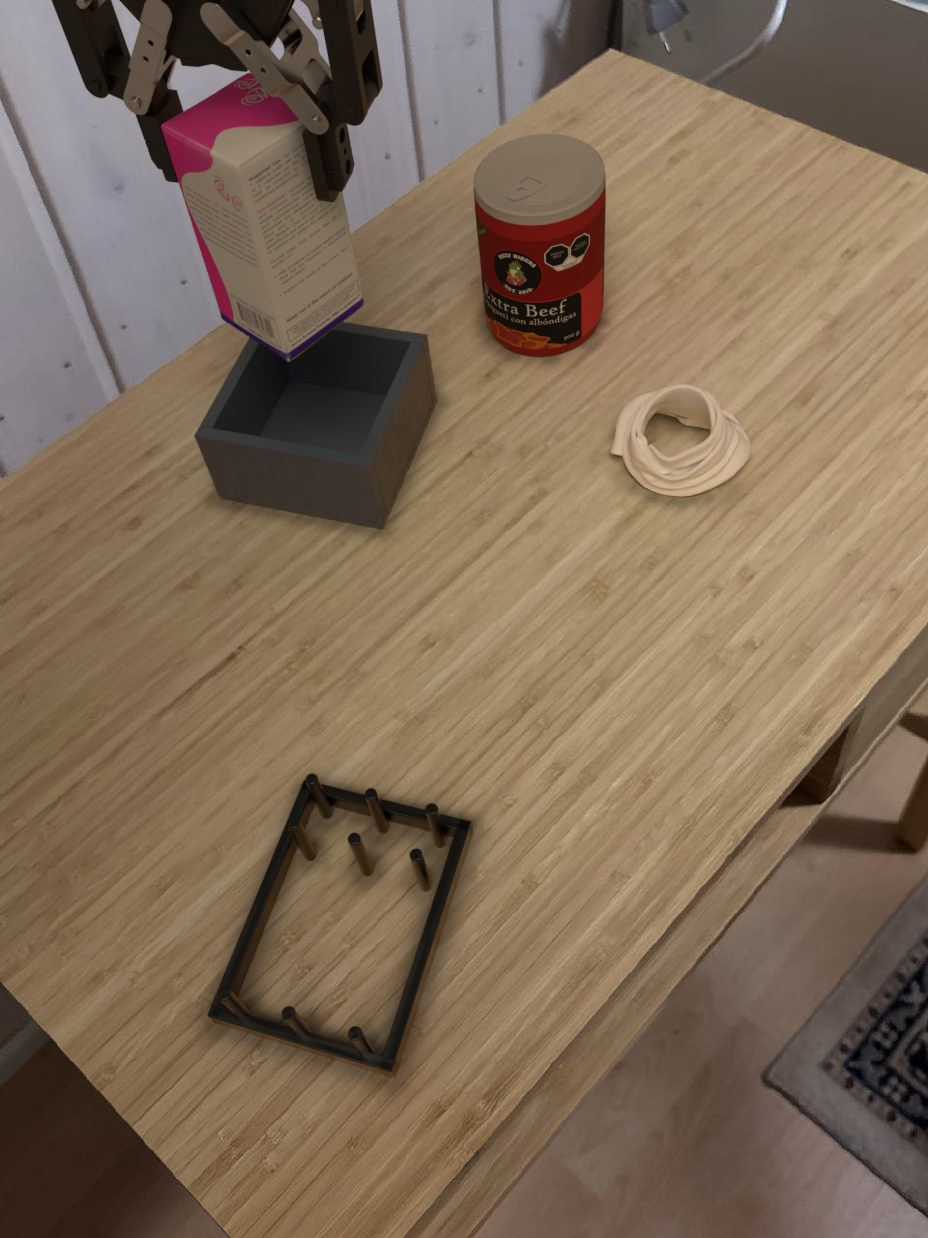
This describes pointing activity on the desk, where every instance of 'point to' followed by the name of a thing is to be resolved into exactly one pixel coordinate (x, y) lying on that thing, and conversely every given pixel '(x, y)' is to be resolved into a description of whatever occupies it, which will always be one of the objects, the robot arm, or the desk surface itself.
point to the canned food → (541, 242)
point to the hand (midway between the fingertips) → (257, 181)
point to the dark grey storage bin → (322, 424)
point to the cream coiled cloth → (694, 465)
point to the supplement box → (263, 219)
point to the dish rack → (312, 791)
